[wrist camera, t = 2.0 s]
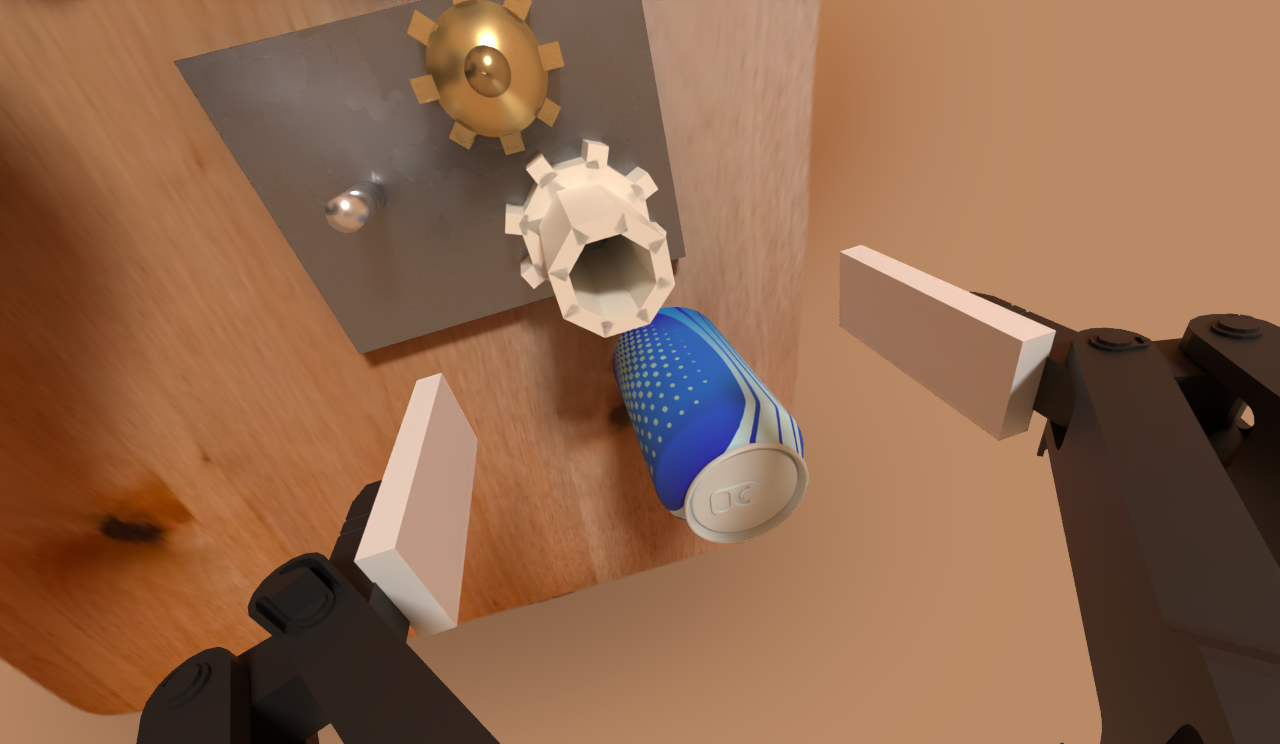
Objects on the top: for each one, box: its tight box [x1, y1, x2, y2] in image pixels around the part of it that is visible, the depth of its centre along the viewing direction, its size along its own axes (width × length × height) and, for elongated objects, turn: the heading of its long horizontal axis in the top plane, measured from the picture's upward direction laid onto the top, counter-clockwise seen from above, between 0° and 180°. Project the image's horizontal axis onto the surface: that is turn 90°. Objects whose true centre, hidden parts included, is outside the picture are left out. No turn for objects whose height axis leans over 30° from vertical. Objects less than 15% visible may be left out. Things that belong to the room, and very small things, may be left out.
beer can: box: [613, 306, 809, 544], centre depth 30 cm, size 8×8×16 cm
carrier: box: [174, 0, 686, 354], centre depth 26 cm, size 22×16×6 cm
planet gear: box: [505, 139, 675, 338], centre depth 25 cm, size 9×9×10 cm
